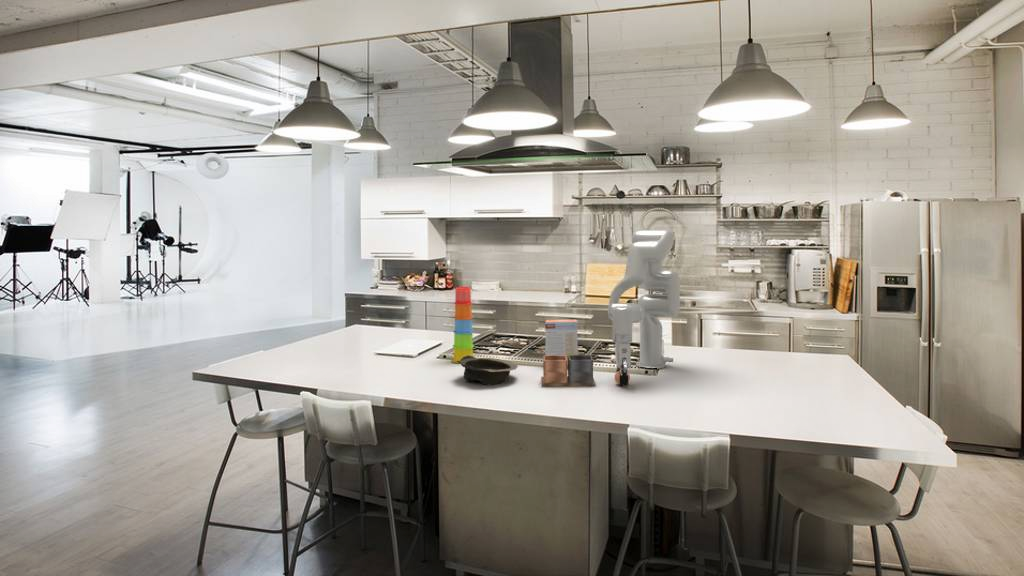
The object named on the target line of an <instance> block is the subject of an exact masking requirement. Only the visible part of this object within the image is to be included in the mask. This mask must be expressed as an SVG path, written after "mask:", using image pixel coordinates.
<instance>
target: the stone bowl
mask: <svg viewBox="0 0 1024 576" xmlns="http://www.w3.org/2000/svg"><path fill="white" fill-rule="evenodd" d="M456 362H458V363H457V364H460V365H461V367H463V368H464V372H463V379H464V381H466V382H476V381H480V382H481V384H482V385H485V384H487V386H489V385H488V384H491V385H493V384H494V385H497V383H498V384H500V383H502V382H506V381H507V379H508V377H509V375H510V373H511V371H515V370H517V368H518V367H519V366H518V364H517V363H515V362H512V361H508V360H505V359H500V358H495V357H494V358H493V357H480V358H478V357H475V356H474V355H473V356H469V355H468V356H464V357H463V358H462V359H461V360H460V361H456Z"/></svg>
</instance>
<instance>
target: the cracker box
mask: <svg viewBox="0 0 1024 576" xmlns="http://www.w3.org/2000/svg"><path fill="white" fill-rule="evenodd" d="M544 323H545V324H544V325H545V327H544V328H545V334H544V335H545V336H544V337H545V355H566V357H567V369H568V355H579V354H578V352H579V351H578V349H579V348H578V347H579V346H578V345H579V344H578V320H577V319H545V322H544Z"/></svg>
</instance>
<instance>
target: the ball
mask: <svg viewBox="0 0 1024 576" xmlns="http://www.w3.org/2000/svg"><path fill="white" fill-rule="evenodd" d="M614 381H615V383H617V384H618V385H619V386H621V385H620V370H619V371H617V372H616V371H615V374H614ZM630 381H631V375H630V374H629V372H628V383H629V382H630Z"/></svg>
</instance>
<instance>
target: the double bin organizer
mask: <svg viewBox="0 0 1024 576" xmlns="http://www.w3.org/2000/svg"><path fill="white" fill-rule="evenodd" d="M542 361H543V362H542V366H543V367H542V368H543V369H542V371H543V372H542V373H543V375H542V376H540V381H541V382H540V383H541V387H542V388H553V387H554V388H555V387H556V388H558V387H559V388H562V387H565V388H566V387H569V388H570V387H571V388H573V387H575V388H577V387H580V388H582V387H597V384H596V380H595V378H594V360H593V357H592V355H591V354H578V355H568V368H567V357H566V355H546V354H545V355H542Z"/></svg>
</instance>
